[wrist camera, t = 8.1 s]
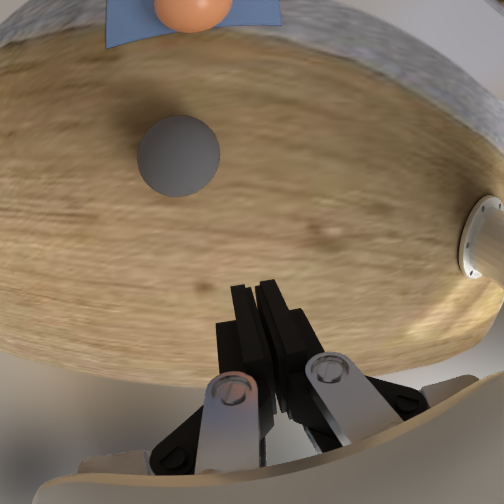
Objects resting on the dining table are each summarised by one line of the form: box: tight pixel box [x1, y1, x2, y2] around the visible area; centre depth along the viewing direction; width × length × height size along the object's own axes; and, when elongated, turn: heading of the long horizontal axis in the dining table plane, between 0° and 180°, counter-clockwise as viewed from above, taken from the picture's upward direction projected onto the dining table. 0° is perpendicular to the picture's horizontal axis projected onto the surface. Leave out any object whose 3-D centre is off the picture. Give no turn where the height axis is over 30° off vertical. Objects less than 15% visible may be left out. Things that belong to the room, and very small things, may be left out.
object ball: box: [154, 0, 233, 33], centre depth 12 cm, size 6×6×6 cm
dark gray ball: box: [137, 115, 220, 197], centre depth 17 cm, size 6×6×6 cm
